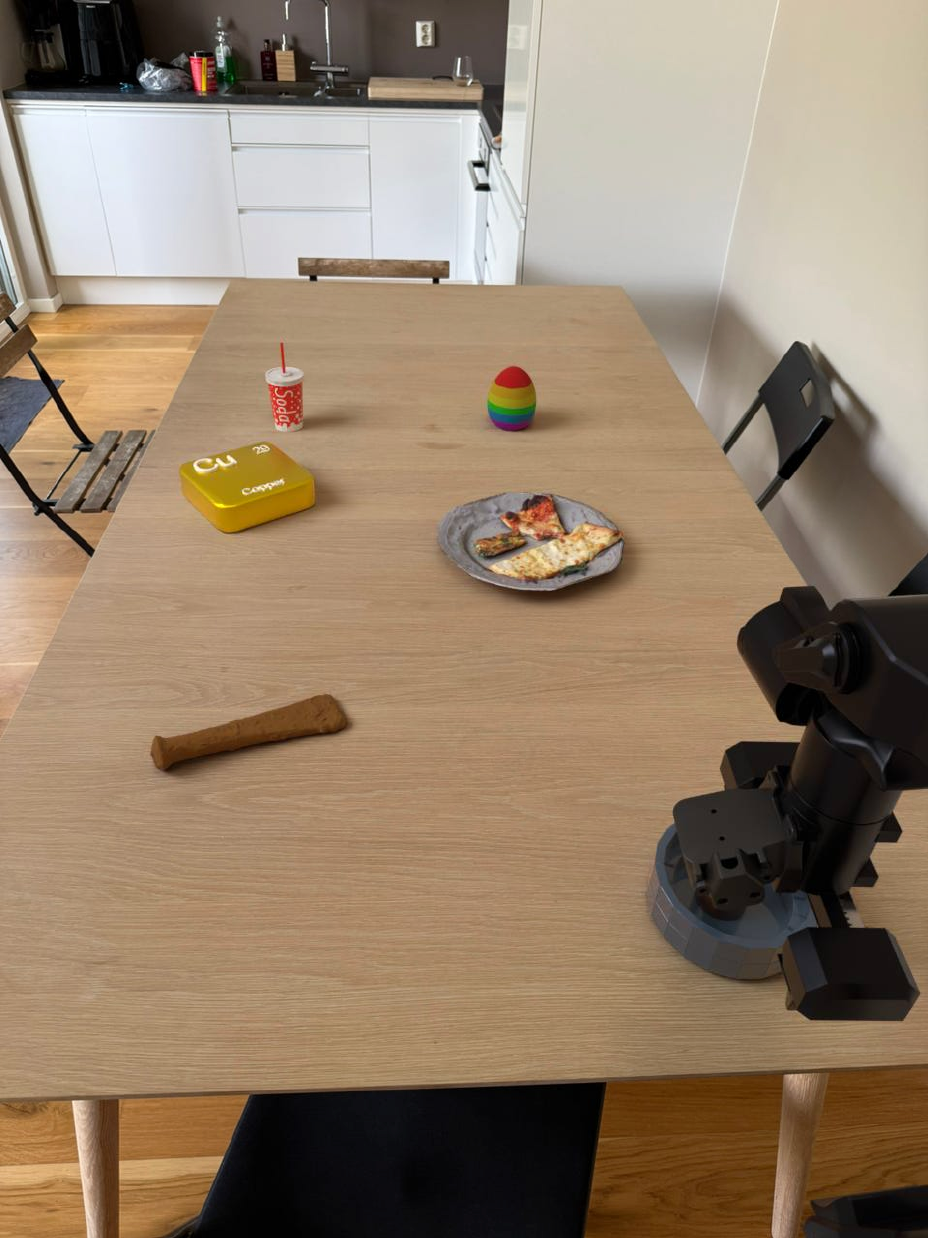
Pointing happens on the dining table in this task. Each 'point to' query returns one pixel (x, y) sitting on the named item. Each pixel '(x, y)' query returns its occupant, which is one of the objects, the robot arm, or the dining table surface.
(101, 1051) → the dining table surface
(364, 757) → the dining table surface
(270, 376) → the beverage cup
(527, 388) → the decorative egg
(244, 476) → the element tile
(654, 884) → the bowl
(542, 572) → the food plate
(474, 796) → the dining table surface
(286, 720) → the primitive tool
